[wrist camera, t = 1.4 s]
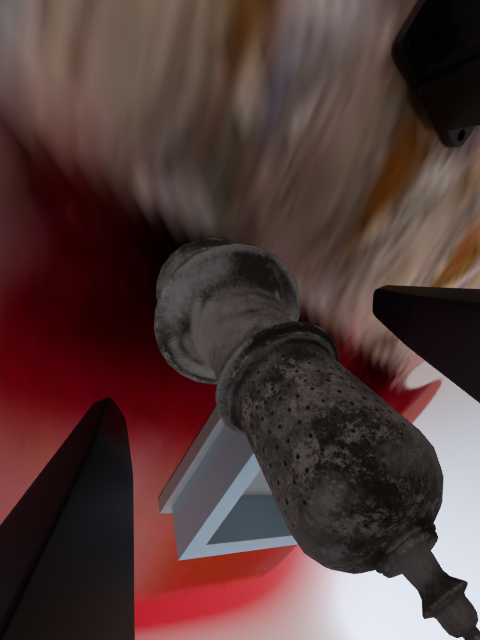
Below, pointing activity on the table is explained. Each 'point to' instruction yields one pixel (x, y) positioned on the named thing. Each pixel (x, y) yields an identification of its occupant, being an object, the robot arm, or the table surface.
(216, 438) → the holder
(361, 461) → the grey stone tall figure
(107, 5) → the table surface
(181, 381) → the table surface
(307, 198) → the table surface
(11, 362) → the table surface
